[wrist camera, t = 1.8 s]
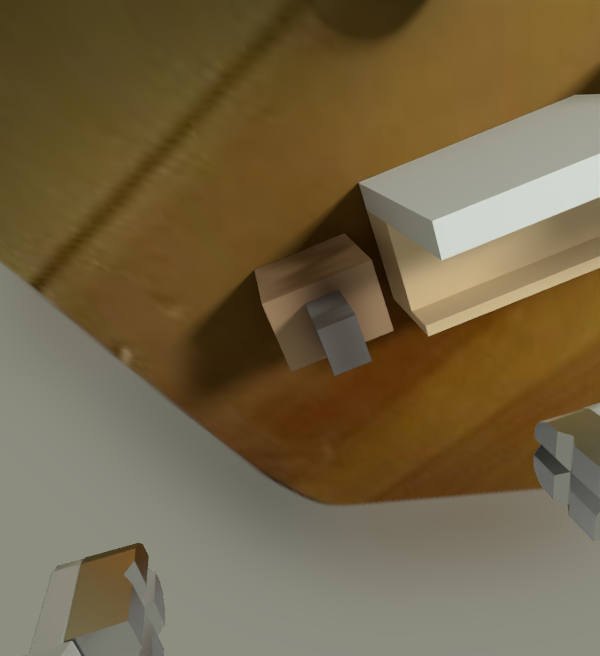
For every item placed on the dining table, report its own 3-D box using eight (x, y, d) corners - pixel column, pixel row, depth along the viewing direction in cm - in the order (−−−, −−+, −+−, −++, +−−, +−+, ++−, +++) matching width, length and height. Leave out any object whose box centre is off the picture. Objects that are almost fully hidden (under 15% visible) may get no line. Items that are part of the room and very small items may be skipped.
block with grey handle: (344, 233, 36) (393, 281, 26) (365, 295, 38) (417, 362, 28) (254, 269, 36) (267, 331, 26) (280, 329, 38) (301, 408, 28)
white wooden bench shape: (574, 95, 34) (763, 87, 22) (587, 220, 38) (753, 270, 26) (358, 182, 34) (431, 221, 22) (393, 298, 38) (471, 383, 26)
